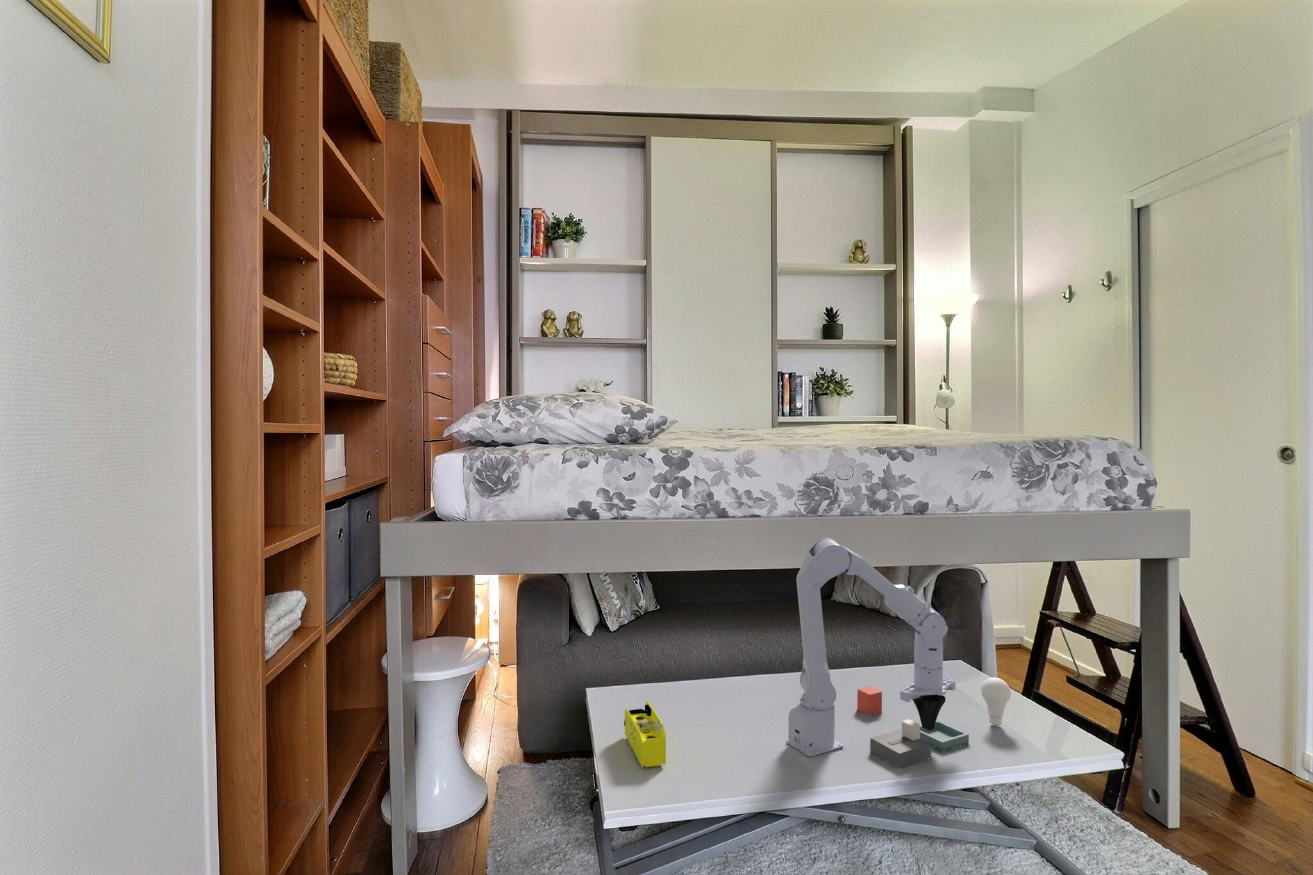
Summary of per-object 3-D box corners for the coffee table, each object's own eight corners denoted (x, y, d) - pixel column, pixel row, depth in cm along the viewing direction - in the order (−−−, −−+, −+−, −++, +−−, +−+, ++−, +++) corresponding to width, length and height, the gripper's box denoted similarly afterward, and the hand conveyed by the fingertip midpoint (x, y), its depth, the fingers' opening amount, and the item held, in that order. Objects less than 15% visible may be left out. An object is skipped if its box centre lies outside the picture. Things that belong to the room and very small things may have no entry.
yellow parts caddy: (668, 768, 146) (667, 727, 145) (640, 771, 144) (640, 730, 144) (648, 734, 161) (648, 697, 161) (623, 737, 160) (623, 700, 159)
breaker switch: (912, 740, 150) (913, 726, 150) (901, 735, 153) (901, 721, 153) (919, 738, 151) (919, 724, 151) (908, 733, 154) (908, 719, 154)
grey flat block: (899, 768, 145) (899, 752, 145) (870, 751, 152) (870, 737, 152) (930, 758, 149) (931, 743, 149) (901, 742, 156) (901, 728, 156)
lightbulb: (979, 728, 163) (980, 680, 163) (981, 718, 169) (982, 671, 169) (1009, 733, 161) (1010, 684, 160) (1010, 723, 166) (1011, 676, 166)
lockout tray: (942, 751, 152) (942, 742, 152) (911, 736, 159) (911, 727, 159) (968, 743, 156) (968, 734, 156) (937, 728, 163) (937, 720, 163)
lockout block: (869, 715, 171) (869, 694, 171) (857, 709, 174) (857, 689, 174) (881, 712, 173) (882, 691, 173) (869, 706, 176) (869, 686, 176)
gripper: (919, 676, 147) (918, 742, 147) (967, 665, 154) (966, 728, 154) (892, 666, 153) (892, 729, 154) (940, 655, 160) (939, 716, 160)
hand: (927, 728), depth 154 cm, fingers closed
